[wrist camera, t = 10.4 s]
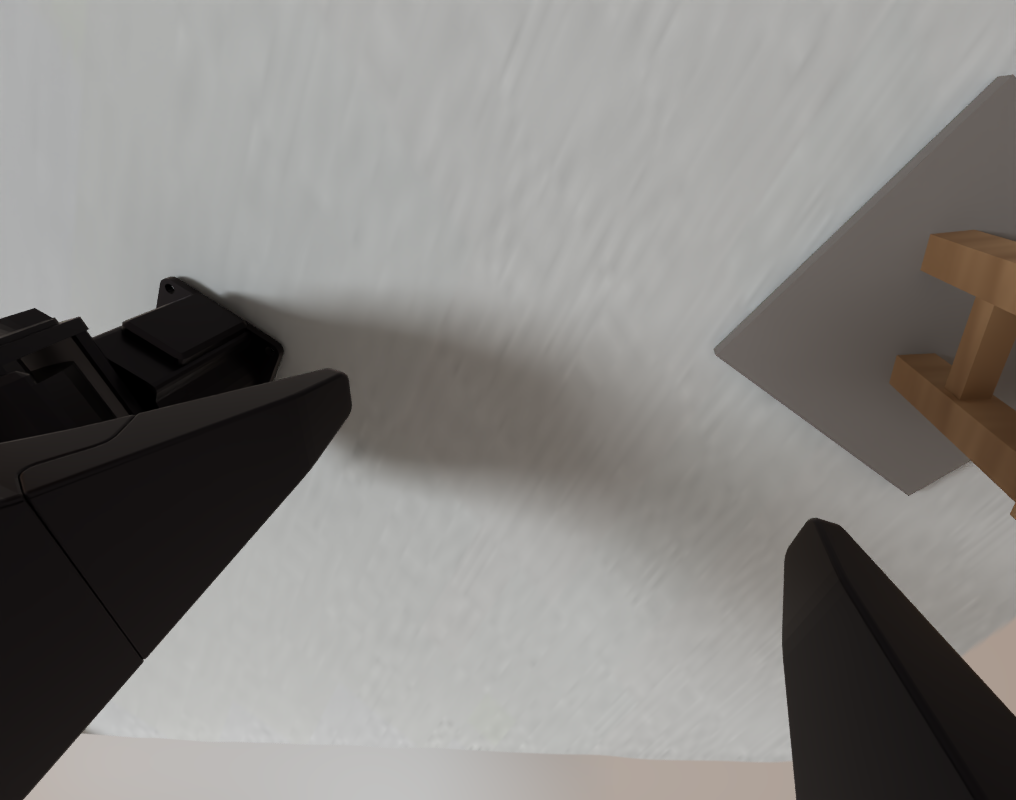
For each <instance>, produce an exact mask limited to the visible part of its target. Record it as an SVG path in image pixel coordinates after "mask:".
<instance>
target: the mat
mask: <svg viewBox="0 0 1016 800" xmlns="http://www.w3.org/2000/svg"><path fill="white" fill-rule="evenodd" d="M966 230H977V231H981V232H984V233H988V234H991V235H995V236H998V237H1002V238H1005V239H1009V240H1012V241H1016V77H1015V76H1014V75H1007V76H1000V77H997V78H996V79H995V80H994V81H993V82H992V83H991V84H990V85H989V86H988V87H987V88H986V89H985V90H984V91H983V92H982V93H980V94H979V95H978V96H977V97H976V98H975V99H974V100H973V101H972V102H971V103H970V104H969V105H968V106H967V107H966V108H965V109H964V110H963V111H962V112H961V113H960V114H959V115H958V116H956V117H955V118H954V119H953V120H952V121H951V122H950V123H949V124H948V125H947V126H946V127H945V128H944V129H943V130H942V131H941V132H940V133H939V134H938V135H937V136H936V137H935V138H934V139H932V140H931V141H930V142H929V143H928V144H927V145H926V146H925V147H924V148H923V149H922V150H921V151H920V152H919V153H918V154H917V155H916V156H915V157H914V158H913V159H912V160H911V161H910V162H908V163H907V164H906V165H905V166H904V167H903V168H902V169H901V170H900V171H899V172H898V173H897V174H896V175H895V176H894V177H893V178H892V179H891V180H890V181H889V182H888V183H887V184H886V185H884V186H883V187H882V188H881V189H880V190H879V191H878V192H877V193H876V194H875V195H874V196H873V197H872V198H871V199H870V200H869V201H868V202H867V203H866V204H865V205H864V206H863V207H862V208H860V209H859V210H858V211H857V212H856V213H855V214H854V215H853V216H852V217H851V218H850V219H849V220H848V221H847V222H846V223H845V224H844V225H843V226H842V227H841V228H840V229H839V230H838V231H836V232H835V233H834V234H833V235H832V236H831V237H830V238H829V239H828V240H827V241H826V242H825V243H824V244H823V245H822V246H821V247H820V248H819V249H818V250H817V251H816V252H815V253H814V254H812V255H811V256H810V257H809V258H808V259H807V260H806V261H805V262H804V263H803V264H802V265H801V266H800V267H799V268H798V269H797V270H796V271H795V272H794V273H793V274H792V275H791V276H790V277H788V278H787V279H786V280H785V281H784V282H783V283H782V284H781V285H780V286H779V287H778V288H777V289H776V290H775V291H774V292H773V293H772V294H771V295H770V296H769V297H768V298H767V299H766V300H764V301H763V302H762V303H761V304H760V305H759V306H758V307H757V308H756V309H755V310H754V311H753V312H752V313H751V314H750V315H749V316H748V317H747V318H746V319H745V320H744V321H743V322H742V323H740V324H739V325H738V326H737V327H736V328H735V329H734V330H733V331H732V332H731V333H730V334H729V335H728V336H727V337H726V338H725V339H724V340H723V341H722V342H721V343H720V344H719V345H718V346H717V347H715V348H714V352H715V354H716V356H718V357H719V358H720V359H722V360H723V361H724V362H726V363H727V364H729V365H730V366H731V367H733V368H734V369H735V370H737V371H738V372H740V373H741V374H742V375H744V376H745V377H746V378H748V379H749V380H750V381H752V382H753V383H755V384H756V385H757V386H759V387H760V388H761V389H763V390H764V391H766V392H767V393H768V394H770V395H771V396H772V397H774V398H775V399H777V400H778V401H779V402H781V403H782V404H783V405H785V406H786V407H788V408H789V409H790V410H792V411H793V412H794V413H796V414H797V415H798V416H800V417H801V418H803V419H804V420H805V421H807V422H808V423H809V424H811V425H812V426H814V427H815V428H816V429H818V430H819V431H820V432H822V433H823V434H825V435H826V436H827V437H829V438H830V439H831V440H833V441H834V442H836V443H837V444H838V445H840V446H841V447H842V448H844V449H845V450H846V451H848V452H849V453H851V454H852V455H853V456H855V457H856V458H857V459H859V460H860V461H862V462H863V463H864V464H866V465H867V466H868V467H870V468H871V469H873V470H874V471H875V472H877V473H878V474H879V475H881V476H882V477H884V478H885V479H886V480H888V481H889V482H890V483H892V484H893V485H894V486H896V487H897V488H899V489H900V490H901V491H903V492H904V493H905V494H907V495H908V496H909V495H911V494H913V493H915V492H916V491H918V490H920V489H922V488H923V487H925V486H927V485H929V484H930V483H932V482H934V481H936V480H937V479H939V478H941V477H943V476H944V475H946V474H948V473H950V472H951V471H953V470H955V469H957V468H958V467H960V466H962V465H964V464H965V463H967V462H969V461H971V460H970V459H969V458H968V457H967V456H966V455H965V454H964V453H963V452H962V451H960V450H959V449H958V448H957V447H956V446H955V445H954V444H953V443H952V442H951V441H950V440H949V439H948V438H947V437H946V436H945V435H943V434H942V433H941V432H940V431H939V430H938V429H937V428H936V427H935V426H934V425H933V424H932V423H931V422H930V421H929V420H928V419H927V418H925V417H924V416H923V415H922V414H921V413H920V412H919V411H918V410H917V409H916V408H915V407H914V406H913V405H912V404H911V403H910V402H908V401H907V400H906V399H905V398H904V397H903V396H902V395H901V394H900V393H899V392H898V391H897V390H896V389H895V388H894V387H893V386H892V385H890V384H889V381H890V378H891V374H892V371H893V367H894V363H895V360H896V356H897V355H909V354H930V353H935V354H937V355H938V356H939V357H941V358H942V359H944V360H945V361H946V362H948V363H949V364H951V365H952V364H953V361H954V359H955V356H956V353H957V350H958V347H959V344H960V341H961V338H962V335H963V332H964V329H965V327H966V324H967V321H968V318H969V315H970V312H971V309H972V306H973V303H974V300H975V297H976V296H974V295H971V294H969V293H967V292H965V291H963V290H961V289H959V288H957V287H954V286H952V285H950V284H948V283H946V282H944V281H942V280H940V279H938V278H935V277H933V276H931V275H929V274H927V273H925V272H923V271H921V270H920V269H921V266H922V262H923V259H924V255H925V251H926V248H927V244H928V240H929V237H930V234H937V233H946V232H956V231H966ZM993 395H994V396H996V397H997V398H998V399H1000V400H1001V401H1003V402H1004V403H1005V404H1007V405H1008V406H1010V407H1011V408H1012V409H1014V410H1015V411H1016V339H1015V341H1014V344H1013V346H1012V349H1011V351H1010V353H1009V356H1008V358H1007V361H1006V363H1005V366H1004V368H1003V371H1002V373H1001V376H1000V378H999V381H998V383H997V386H996V388H995V391H994V393H993Z"/></svg>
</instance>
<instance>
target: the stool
mask: <svg viewBox="0 0 1016 800" xmlns="http://www.w3.org/2000/svg"><path fill="white" fill-rule="evenodd" d="M920 270H921V271H923V272H925V273H927V274H929V275H931V276H933V277H935V278H938V279H940V280H942V281H944V282H946V283H948V284H950V285H952V286H954V287H957V288H959V289H961V290H963V291H965V292H967V293H969V294H971V295H974V296H976V297H975V300H974V303H973V306H972V309H971V312H970V315H969V318H968V321H967V324H966V327H965V329H964V332H963V335H962V338H961V341H960V344H959V347H958V350H957V353H956V356H955V359H954V361H953V364H952V365H951V364H949V363H948V362H946V361H945V360H944V359H942V358H941V357H939V356H938V355H937V354H935V353H930V354H909V355H897V356H896V360H895V363H894V367H893V371H892V374H891V378H890V381H889V384H890V385H892V386H893V387H894V388H895V389H896V390H897V391H898V392H899V393H900V394H901V395H902V396H903V397H904V398H905V399H906V400H907V401H908V402H910V403H911V404H912V405H913V406H914V407H915V408H916V409H917V410H918V411H919V412H920V413H921V414H922V415H923V416H924V417H925V418H927V419H928V420H929V421H930V422H931V423H932V424H933V425H934V426H935V427H936V428H937V429H938V430H939V431H940V432H941V433H942V434H943V435H945V436H946V437H947V438H948V439H949V440H950V441H951V442H952V443H953V444H954V445H955V446H956V447H957V448H958V449H959V450H960V451H962V452H963V453H964V454H965V455H966V456H967V457H968V458H969V459H970V460H971V461H972V462H973V463H974V464H975V465H976V466H977V467H978V468H980V469H981V470H982V471H983V472H984V473H985V474H986V475H987V476H988V477H989V478H990V479H991V480H992V481H993V482H994V483H995V484H997V485H998V486H999V487H1000V488H1001V489H1002V490H1003V491H1004V492H1005V493H1006V494H1007V495H1008V496H1009V497H1010V498H1011V499H1012V500H1014V501H1015V502H1016V411H1015V410H1014V409H1012V408H1011V407H1010V406H1008V405H1007V404H1005V403H1004V402H1003V401H1001V400H1000V399H998V398H997V397H996V396H994V395H993V393H994V391H995V388H996V386H997V383H998V381H999V378H1000V376H1001V373H1002V371H1003V368H1004V366H1005V363H1006V361H1007V358H1008V356H1009V353H1010V351H1011V349H1012V346H1013V344H1014V341H1015V339H1016V241H1012V240H1009V239H1005V238H1002V237H998V236H995V235H991V234H988V233H984V232H981V231H977V230H966V231H956V232H946V233H937V234H930V237H929V240H928V244H927V248H926V251H925V255H924V259H923V262H922V266H921V269H920ZM1010 515H1011V516H1012V517H1013V518H1014V519H1015V520H1016V503H1015V505H1014V507H1013V509H1012V511H1011V513H1010Z"/></svg>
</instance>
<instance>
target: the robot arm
mask: <svg viewBox="0 0 1016 800" xmlns="http://www.w3.org/2000/svg"><path fill="white" fill-rule="evenodd" d="M172 286H173V287H172ZM173 288H174V289H173ZM87 330H88V327H87V326H86V324H85V323H84V322H83V320H82V319H81V317H76V318H72V319H69V320H65V321H62V322H58V321H57V320H56V318H52V317H50V316H48V315H46V314H44V313H43V312H41V311H39V310H37V309H35V308H34V309H30V310H27V311H24V312H21V313H17V314H14V315H11V316H8V317H4V318H1V319H0V800H23V799H24V798H25V797H26V796H27V795H28V794H29V793H30V792H31V790H32V789H33V788H34V787H35V785H37V783H38V782H39V781H40V780H41V779H42V778H43V776H44V775H45V774H46V773H47V772H48V771H49V770H50V769H51V767H52V766H53V765H54V764H55V763H56V762H57V761H58V759H59V758H60V757H61V756H62V755H63V753H65V751H66V750H67V749H68V748H69V747H70V746H71V744H72V743H73V742H74V741H75V739H77V738H78V736H79V735H80V734H81V733H82V732H83V731H84V730H85V728H86V727H87V726H88V725H89V724H90V723H91V722H92V720H93V719H94V718H95V717H96V716H97V715H98V713H99V712H100V711H101V710H102V709H103V708H104V707H105V705H106V704H107V703H108V702H109V701H110V700H111V699H112V697H113V696H114V695H115V694H116V693H117V692H118V691H119V689H120V688H121V687H122V686H123V685H124V684H125V683H126V681H127V680H128V679H129V678H130V677H131V676H132V674H133V673H134V672H135V671H136V670H137V669H138V668H139V666H140V665H141V664H142V663H143V661H144V660H143V659H146V658H147V657H148V656H149V655H150V653H151V652H152V651H153V650H154V649H155V648H156V647H157V645H158V644H159V643H160V642H161V641H162V640H163V639H164V637H165V636H166V635H167V634H168V633H169V632H170V631H171V629H172V628H173V627H174V626H175V625H176V624H177V622H178V621H179V620H180V619H181V618H182V617H183V616H184V614H185V613H186V612H187V611H188V610H189V609H190V608H191V606H192V605H193V604H194V603H195V602H196V601H197V600H198V598H199V597H200V596H201V595H202V594H203V593H204V592H205V590H206V589H207V588H208V587H209V586H210V585H211V584H212V582H213V581H214V580H215V579H216V578H217V577H218V575H219V574H220V573H221V572H222V571H223V570H224V569H225V567H226V566H227V565H228V564H229V563H230V562H231V561H232V559H233V558H234V557H235V556H236V555H237V554H238V553H239V551H240V550H241V549H242V548H243V547H244V546H245V545H246V543H247V542H248V541H249V540H250V539H251V538H252V537H253V535H254V534H255V533H256V532H257V531H258V530H259V528H260V527H261V526H262V525H263V524H264V523H265V522H266V520H267V519H268V518H269V517H270V516H271V515H272V514H273V512H274V511H275V510H276V509H277V508H278V507H279V506H280V504H281V503H282V502H283V501H284V500H285V499H286V498H287V496H288V495H289V494H290V493H291V492H292V491H293V490H294V488H295V487H296V486H297V485H298V484H299V483H300V481H301V480H302V479H303V478H304V477H305V476H306V474H307V473H308V472H309V471H310V470H311V468H312V467H313V466H314V464H315V463H316V462H317V460H318V459H319V457H320V456H321V455H322V453H323V452H324V450H325V449H326V447H327V446H328V445H329V443H330V442H331V440H332V439H333V437H334V436H335V435H336V433H337V432H338V430H339V429H340V428H341V426H342V425H343V423H344V422H345V420H346V419H347V418H348V416H349V414H350V412H351V407H352V402H351V394H350V385H349V379H348V376H347V375H346V374H345V373H343V372H340V371H337V370H334V369H330V368H326V369H322V370H318V371H314V372H309V373H305V374H301V375H297V376H293V377H288V378H284V379H280V380H276V381H274V378H275V375H276V372H277V370H278V367H279V364H280V362H281V359H282V356H283V353H284V350H283V347H282V345H281V344H280V343H279V342H278V341H276V340H274V339H273V338H271V337H270V336H268V335H267V334H265V333H263V332H262V331H260V330H259V329H257V328H256V327H254V326H252V325H251V324H249V323H248V322H246V321H244V320H243V319H241V318H240V317H238V316H237V315H235V314H233V313H232V312H230V311H229V310H227V309H226V308H224V307H222V306H221V305H219V304H218V303H216V302H214V301H213V300H211V299H210V298H208V297H207V296H205V295H203V294H202V293H200V292H199V291H197V290H196V289H194V288H192V287H191V286H189V285H188V284H186V283H184V282H183V281H181V280H180V279H178V278H176V277H168V278H165V279H163V280H161V283H160V288H159V294H158V300H157V307H156V309H154V310H151V311H149V312H146V313H143V314H141V315H138V316H136V317H133V318H131V319H128V320H126V321H124V322H123V323H122V326H120V327H117V328H115V329H112V330H110V331H107V332H105V333H102V334H100V335H97V336H95V337H91V336H90V334H89V333H88V332H87ZM271 348H272V349H273V350H274V352H273V351H272V350H271ZM782 650H783V664H784V674H785V685H786V695H787V706H788V717H789V727H790V738H791V748H792V759H793V770H794V780H795V791H796V800H1016V717H1015V716H1014V714H1013V713H1012V712H1011V711H1010V710H1009V709H1008V708H1007V707H1006V706H1005V705H1004V703H1003V702H1002V701H1001V700H1000V699H999V698H998V697H997V696H996V695H995V694H994V693H993V691H992V690H991V689H990V688H989V687H988V686H987V685H986V684H985V683H984V682H983V680H982V679H981V678H980V677H979V676H978V675H977V674H976V673H975V672H974V671H973V670H972V669H971V668H970V666H969V665H968V664H967V663H966V662H965V661H964V660H963V659H962V658H961V656H960V655H959V654H958V653H957V652H956V651H955V650H954V649H953V648H952V647H951V645H950V644H949V643H948V642H947V641H946V640H945V639H944V638H943V637H942V636H941V635H940V633H939V632H938V631H937V630H936V629H935V628H934V627H933V626H932V625H931V624H930V623H929V621H928V620H927V619H926V618H925V617H924V616H923V615H922V614H921V613H920V612H919V611H918V609H917V608H916V607H915V606H914V605H913V604H912V603H911V602H910V601H909V600H908V599H907V597H906V596H905V595H904V594H903V593H902V592H901V591H900V590H899V589H898V588H897V586H896V585H895V584H894V583H893V582H892V581H891V580H890V579H889V578H888V577H887V576H886V574H885V573H884V572H883V571H882V570H881V569H880V568H879V567H878V566H877V565H876V564H875V562H874V561H873V560H872V559H871V558H870V557H869V556H868V555H867V554H866V553H865V552H864V550H863V549H862V548H861V547H860V546H859V545H858V544H857V543H856V542H855V541H854V540H853V538H852V537H851V536H850V535H849V534H848V533H847V532H846V531H845V530H844V529H843V528H842V527H841V526H840V525H838V524H835V523H832V522H828V521H825V520H822V519H818V518H811V519H809V520H808V521H807V522H806V523H805V525H804V526H803V527H802V529H801V530H800V532H799V533H798V534H797V536H796V537H795V539H794V540H793V541H792V543H791V544H790V546H789V547H788V549H787V552H786V555H785V561H784V590H783V621H782Z"/></svg>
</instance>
